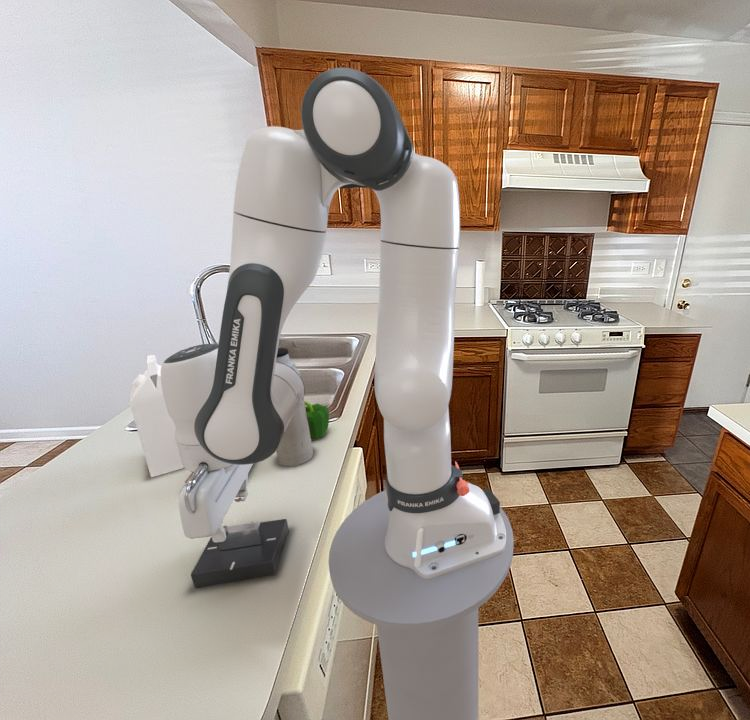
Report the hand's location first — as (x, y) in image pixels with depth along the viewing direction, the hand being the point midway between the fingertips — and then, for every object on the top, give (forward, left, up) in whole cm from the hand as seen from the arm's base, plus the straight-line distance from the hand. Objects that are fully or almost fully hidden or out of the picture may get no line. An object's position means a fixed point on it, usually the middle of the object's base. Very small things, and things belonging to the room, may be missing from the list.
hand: (232, 517), depth 66 cm
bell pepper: (-5, -41, -9) cm, 42 cm away
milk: (+26, -37, -9) cm, 46 cm away
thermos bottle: (-2, -31, -9) cm, 32 cm away
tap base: (0, 0, -9) cm, 9 cm away
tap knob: (0, 0, -6) cm, 6 cm away
